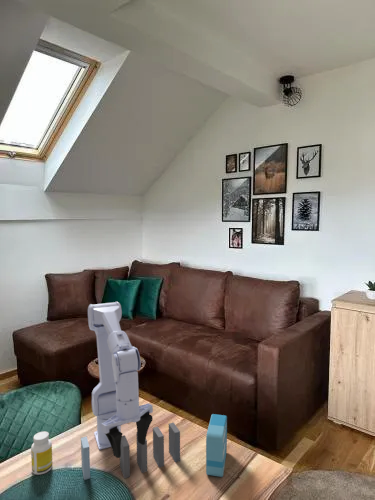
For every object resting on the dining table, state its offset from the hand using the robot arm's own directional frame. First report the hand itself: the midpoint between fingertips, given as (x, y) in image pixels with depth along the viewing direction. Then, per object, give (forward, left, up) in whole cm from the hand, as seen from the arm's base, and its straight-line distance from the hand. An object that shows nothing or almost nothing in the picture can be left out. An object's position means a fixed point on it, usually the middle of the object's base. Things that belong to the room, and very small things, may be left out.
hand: (129, 449), depth 88 cm
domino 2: (-7, +5, -11) cm, 14 cm away
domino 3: (-7, +10, -11) cm, 17 cm away
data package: (+1, +25, -11) cm, 28 cm away
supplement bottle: (-18, -21, -11) cm, 30 cm away
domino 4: (-7, +15, -11) cm, 20 cm away
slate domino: (-11, -10, -11) cm, 19 cm away
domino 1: (-7, 0, -11) cm, 13 cm away
